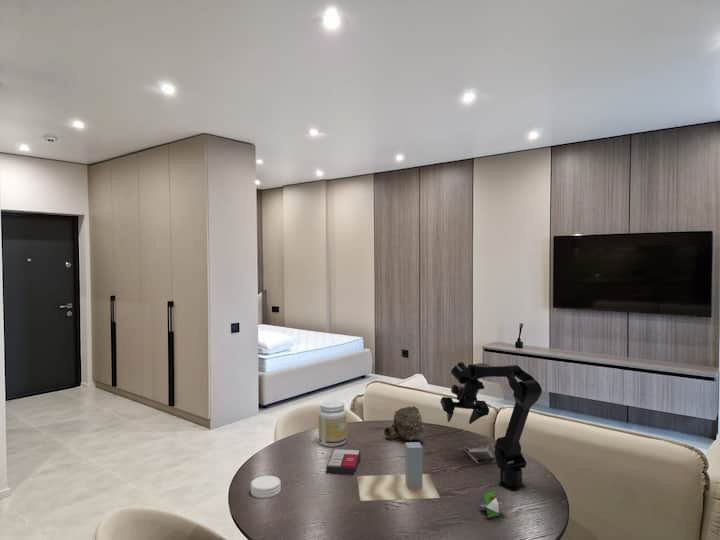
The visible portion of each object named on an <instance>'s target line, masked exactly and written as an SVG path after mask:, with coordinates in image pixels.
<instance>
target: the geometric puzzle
mask: <svg viewBox="0 0 720 540" xmlns="http://www.w3.org/2000/svg"><path fill="white" fill-rule="evenodd" d="M496 496H497V494H496V492H495V490H493V491H489V492H483V493H482V497H481V500H484V504H478V505H477V506H478V507H480V510H481V509H482V508H483V507H484V508H485V509H486V516H487V518H492V517H496V516H500V506H499V504H501V505H502V504H504V501H502V499H499V498H497V497H496ZM498 500H499V501H498Z"/></svg>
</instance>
